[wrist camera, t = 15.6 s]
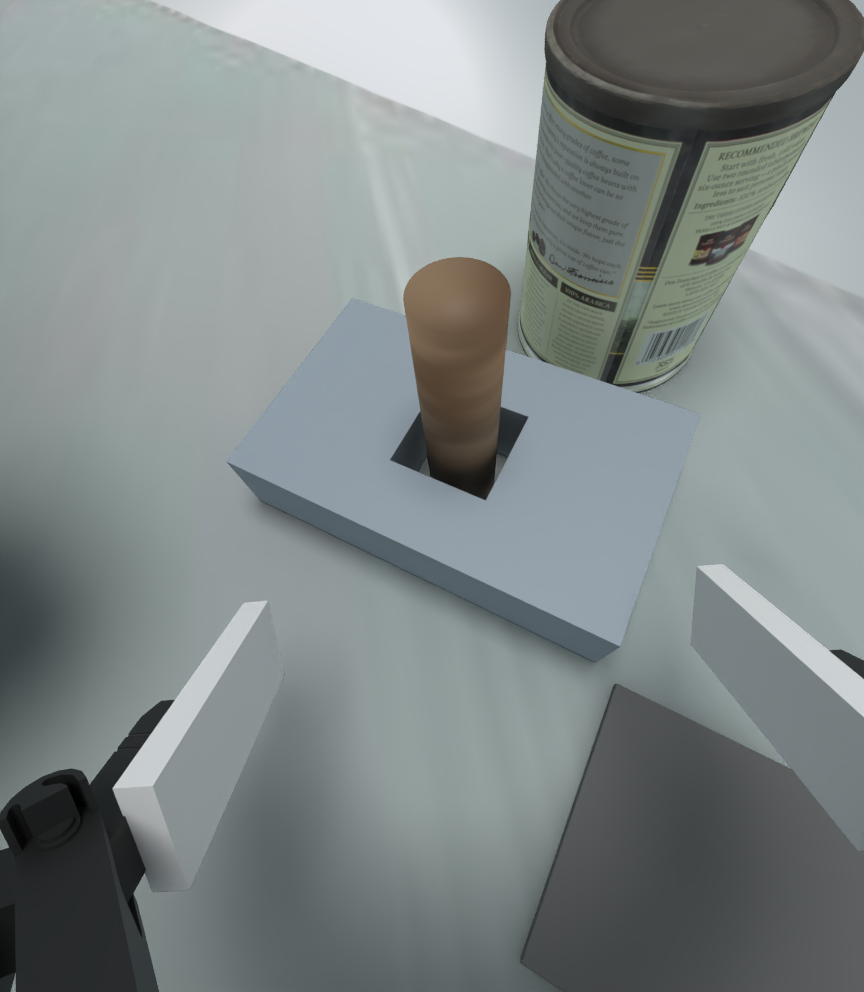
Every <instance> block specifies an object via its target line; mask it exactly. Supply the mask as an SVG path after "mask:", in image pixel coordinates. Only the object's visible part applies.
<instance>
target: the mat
mask: <svg viewBox="0 0 864 992" xmlns="http://www.w3.org/2000/svg"><path fill="white" fill-rule="evenodd" d="M521 963H522V964H524V965H525V966H526V967H528V968H529V969H531V970H532V971H534V972H535V973H537V974H538V975H540V976H541V977H543V978H544V979H546V980H547V981H549V982H550V983H552V984H553V985H555V986H556V987H558V988H559V989H561V990H562V991H564V992H864V851H858V850H857V849H856V848H855V846H854V845H853V844H852V843H851V842H850V840H849V839H848V838H847V837H846V835H845V834H844V833H843V832H842V830H841V829H840V828H839V827H838V826H837V824H836V823H835V822H834V821H833V819H832V818H831V817H830V816H829V814H828V813H827V812H826V811H825V809H824V808H823V807H822V806H821V805H820V803H819V802H818V801H817V800H816V798H815V797H814V796H813V795H812V793H811V792H810V791H809V790H808V788H807V787H806V786H805V785H804V784H803V782H802V781H801V780H800V779H799V777H798V776H797V775H796V774H795V772H794V771H793V770H792V769H790V768H788V767H786V766H784V765H782V764H780V763H778V762H775V761H773V760H771V759H769V758H767V757H765V756H763V755H761V754H759V753H757V752H755V751H753V750H751V749H749V748H747V747H745V746H743V745H741V744H739V743H737V742H735V741H733V740H731V739H729V738H727V737H724V736H722V735H720V734H718V733H716V732H714V731H712V730H710V729H708V728H706V727H704V726H702V725H700V724H698V723H696V722H694V721H692V720H690V719H688V718H686V717H684V716H682V715H680V714H678V713H676V712H673V711H671V710H669V709H667V708H665V707H663V706H661V705H659V704H657V703H655V702H653V701H651V700H649V699H647V698H645V697H643V696H641V695H639V694H637V693H635V692H633V691H631V690H629V689H627V688H624V687H622V686H620V685H618V684H615V685H614V687H613V690H612V693H611V696H610V699H609V702H608V705H607V707H606V710H605V713H604V716H603V719H602V722H601V725H600V728H599V731H598V734H597V737H596V740H595V743H594V745H593V748H592V751H591V754H590V757H589V760H588V763H587V766H586V769H585V772H584V775H583V778H582V781H581V783H580V786H579V789H578V792H577V795H576V798H575V801H574V804H573V807H572V810H571V813H570V816H569V819H568V821H567V824H566V827H565V830H564V833H563V836H562V839H561V842H560V845H559V848H558V851H557V854H556V856H555V859H554V862H553V865H552V868H551V871H550V874H549V877H548V880H547V883H546V886H545V889H544V892H543V894H542V897H541V900H540V903H539V906H538V909H537V912H536V915H535V918H534V921H533V924H532V927H531V930H530V932H529V935H528V938H527V941H526V944H525V947H524V950H523V953H522V956H521Z"/></svg>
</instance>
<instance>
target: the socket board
mask: <svg viewBox="0 0 864 992" xmlns="http://www.w3.org/2000/svg"><path fill="white" fill-rule="evenodd" d="M700 416H701V414H699V413H696V412H693V411H690V410H687V409H684V408H681V407H678V406H675V405H672V404H669V403H666V402H663V401H660V400H657V399H654V398H651V397H648V396H645V395H642V394H639V393H636V392H633V391H630V390H627V389H624V388H621V387H618V386H615V385H612V384H609V383H606V382H603V381H600V380H597V379H594V378H591V377H588V376H585V375H582V374H579V373H576V372H573V371H570V370H567V369H564V368H561V367H558V366H555V365H552V364H549V363H546V362H543V361H540V360H537V359H534V358H531V357H528V356H525V355H522V354H519V353H516V352H513V351H510V350H507V349H506V353H505V364H504V375H503V386H502V397H501V409H500V420H499V431H498V442H497V453H500V454H503V455H505V456H508V458H507V460H506V462H505V464H504V466H503V468H502V470H501V472H500V474H499V476H498V478H497V480H496V482H495V484H494V486H493V488H492V490H491V491H490V493H489V495H488V497H487V499H486V501H485V500H483V499H481V498H478V497H476V496H474V495H471V494H469V493H467V492H464V491H462V490H459V489H457V488H455V487H452V486H450V485H448V484H445V483H443V482H440V481H438V480H436V479H433V478H431V477H429V476H426V475H424V474H422V473H419V472H418V470H419V469H420V467H421V465H422V464H423V462H424V460H425V459H426V457H427V451H426V444H425V438H424V431H423V425H422V418H421V411H420V405H419V398H418V392H417V385H416V379H415V372H414V366H413V359H412V353H411V346H410V340H409V333H408V327H407V320H406V316H404V315H401V314H398V313H395V312H392V311H389V310H386V309H383V308H380V307H377V306H374V305H371V304H368V303H365V302H362V301H359V300H356V299H353V298H352V299H351V301H350V302H349V303H348V304H347V306H346V307H345V308H344V310H343V311H342V312H341V314H340V315H339V316H338V317H337V319H336V320H335V321H334V323H333V324H332V325H331V326H330V328H329V329H328V330H327V332H326V333H325V334H324V336H323V337H322V338H321V339H320V341H319V342H318V343H317V345H316V346H315V347H314V349H313V350H312V351H311V352H310V354H309V355H308V356H307V358H306V359H305V360H304V361H303V363H302V364H301V365H300V367H299V368H298V369H297V371H296V372H295V373H294V374H293V376H292V377H291V378H290V380H289V381H288V382H287V384H286V385H285V386H284V387H283V389H282V390H281V391H280V393H279V394H278V395H277V396H276V398H275V399H274V400H273V402H272V403H271V404H270V406H269V407H268V408H267V409H266V411H265V412H264V413H263V415H262V416H261V417H260V419H259V420H258V421H257V422H256V424H255V425H254V426H253V428H252V429H251V430H250V431H249V433H248V434H247V435H246V437H245V438H244V439H243V441H242V442H241V443H240V444H239V446H238V447H237V448H236V450H235V451H234V452H233V453H232V455H231V456H230V457H229V459H228V460H227V461H226V462H227V463H228V464H229V465H230V466H231V468H232V469H233V470H234V471H235V472H236V473H237V474H238V475H239V477H240V478H241V479H242V480H243V481H244V482H245V483H246V485H247V486H248V487H249V488H250V489H251V490H252V491H253V493H254V494H255V495H256V496H257V497H258V498H259V499H260V500H261V501H263V502H265V503H267V504H269V505H271V506H273V507H275V508H278V509H280V510H282V511H284V512H286V513H288V514H290V515H292V516H294V517H296V518H298V519H300V520H302V521H304V522H306V523H309V524H311V525H313V526H315V527H317V528H319V529H321V530H323V531H325V532H327V533H329V534H331V535H333V536H335V537H337V538H339V539H342V540H344V541H346V542H348V543H350V544H352V545H354V546H356V547H358V548H360V549H362V550H364V551H366V552H368V553H370V554H373V555H375V556H377V557H379V558H381V559H383V560H385V561H387V562H389V563H391V564H393V565H395V566H397V567H399V568H401V569H403V570H406V571H408V572H410V573H412V574H414V575H416V576H418V577H420V578H422V579H424V580H426V581H428V582H430V583H432V584H434V585H437V586H439V587H441V588H443V589H445V590H447V591H449V592H451V593H453V594H455V595H457V596H459V597H461V598H463V599H465V600H467V601H470V602H472V603H474V604H476V605H478V606H480V607H482V608H484V609H486V610H488V611H490V612H492V613H494V614H496V615H498V616H501V617H503V618H505V619H507V620H509V621H511V622H513V623H515V624H517V625H519V626H521V627H523V628H525V629H527V630H529V631H531V632H534V633H536V634H538V635H540V636H542V637H544V638H546V639H548V640H550V641H552V642H554V643H556V644H558V645H560V646H562V647H565V648H567V649H569V650H571V651H573V652H575V653H577V654H579V655H581V656H583V657H585V658H587V659H589V660H591V661H593V662H597V661H598V660H600V659H601V658H603V657H604V656H606V655H608V654H609V653H611V652H612V651H614V650H616V649H617V648H619V647H620V646H621V643H622V640H623V637H624V634H625V631H626V628H627V625H628V623H629V620H630V617H631V614H632V611H633V608H634V605H635V602H636V600H637V597H638V594H639V591H640V588H641V585H642V582H643V580H644V577H645V574H646V571H647V568H648V565H649V562H650V559H651V557H652V554H653V551H654V548H655V545H656V542H657V539H658V536H659V534H660V531H661V528H662V525H663V522H664V519H665V516H666V513H667V511H668V508H669V505H670V502H671V499H672V496H673V493H674V490H675V488H676V485H677V482H678V479H679V476H680V473H681V470H682V467H683V465H684V462H685V459H686V456H687V453H688V450H689V447H690V444H691V442H692V439H693V436H694V433H695V430H696V427H697V424H698V421H699V419H700Z"/></svg>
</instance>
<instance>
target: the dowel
mask: <svg viewBox="0 0 864 992" xmlns="http://www.w3.org/2000/svg"><path fill="white" fill-rule="evenodd" d="M510 296H511V292H510V286H509V283H508V281H507V279H506V278H505V276H504V275H503V274H502V273H501V272H500V271H499V270H498V269H497V268H495V267H494V266H492V265H490V264H488V263H486V262H484V261H481V260H477V259H473V258H463V257H457V258H447V259H443V260H439V261H436V262H433V263H431V264H429V265H427V266H425V267H423V268H422V269H420V270H419V271H418V272H417V273H415V274H414V275H413V276H412V278H411V279H410V280H409V282H408V283H407V285H406V288H405V291H404V298H403V299H404V307H405V314H406V320H407V327H408V333H409V340H410V346H411V353H412V359H413V366H414V372H415V379H416V385H417V392H418V398H419V405H420V411H421V418H422V425H423V431H424V438H425V444H426V451H427V457H428V464H429V470H430V477H431V478H433V479H436V480H438V481H440V482H443V483H445V484H448V485H450V486H452V487H455V488H457V489H459V490H462V491H464V492H467V493H469V494H471V495H474V496H476V497H478V498H481V499H483V500H485V501H486V499H487V497H488V495H489V493H490V491H491V490H492V488H493V486H494V476H495V465H496V453H497V442H498V431H499V420H500V409H501V397H502V386H503V375H504V364H505V353H506V341H507V330H508V319H509V308H510Z"/></svg>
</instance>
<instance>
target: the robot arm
mask: <svg viewBox="0 0 864 992" xmlns="http://www.w3.org/2000/svg"><path fill="white" fill-rule="evenodd" d="M691 645H692V647H693V648H694V649H695V650H696V652H697V653H698V654H699V655H700V656H701V658H702V659H703V660H704V661H705V663H706V664H707V665H708V666H709V668H710V669H711V670H712V671H713V672H714V674H715V675H716V676H717V677H718V679H719V680H720V681H721V682H722V684H723V685H724V686H725V687H726V689H727V690H728V691H729V692H730V693H731V695H732V696H733V697H734V698H735V700H736V701H737V702H738V703H739V705H740V706H741V707H742V708H743V710H744V711H745V712H746V713H747V714H748V716H749V717H750V718H751V719H752V721H753V722H754V723H755V724H756V726H757V727H758V728H759V729H760V730H761V732H762V733H763V734H764V735H765V737H766V738H767V739H768V740H769V742H770V743H771V744H772V745H773V747H774V748H775V749H776V750H777V751H778V753H779V754H780V755H781V756H782V758H783V759H784V760H785V761H786V763H787V764H788V765H789V766H790V768H791V769H792V770H793V771H794V772H795V774H796V775H797V776H798V777H799V779H800V780H801V781H802V782H803V784H804V785H805V786H806V787H807V788H808V790H809V791H810V792H811V793H812V795H813V796H814V797H815V798H816V800H817V801H818V802H819V803H820V805H821V806H822V807H823V808H824V809H825V811H826V812H827V813H828V814H829V816H830V817H831V818H832V819H833V821H834V822H835V823H836V824H837V826H838V827H839V828H840V829H841V830H842V832H843V833H844V834H845V835H846V837H847V838H848V839H849V840H850V842H851V843H852V844H853V845H854V846H855V848H856V849H857V850H858V851H864V661H863V660H861V659H859V658H857V657H855V656H853V655H851V654H849V653H847V652H845V651H843V650H827V649H826V648H825V647H824V646H822V645H821V644H820V643H819V642H818V641H816V640H815V639H814V638H813V637H811V636H810V635H809V634H808V633H807V632H805V631H804V630H803V629H802V628H800V627H799V626H798V625H797V624H796V623H794V622H793V621H792V620H791V619H789V618H788V617H787V616H786V615H784V614H783V613H782V612H781V611H780V610H778V609H777V608H776V607H775V606H773V605H772V604H771V603H770V602H769V601H767V600H766V599H765V598H764V597H762V596H761V595H760V594H759V593H758V592H756V591H755V590H754V589H753V588H751V587H750V586H749V585H748V584H747V583H745V582H744V581H743V580H742V579H740V578H739V577H738V576H737V575H735V574H734V573H733V572H732V571H731V570H729V569H728V568H727V567H726V566H724V565H723V564H718V565H706V566H697V571H696V584H695V596H694V609H693V621H692V634H691ZM284 675H285V674H284V669H283V665H282V661H281V656H280V652H279V647H278V643H277V638H276V634H275V629H274V625H273V621H272V616H271V612H270V607H269V603H268V601H259V602H246V603H243V605H242V606H241V607H240V609H239V610H238V612H237V613H236V615H235V616H234V617H233V619H232V620H231V622H230V623H229V624H228V626H227V627H226V629H225V630H224V632H223V633H222V634H221V636H220V637H219V639H218V640H217V641H216V643H215V644H214V646H213V647H212V648H211V650H210V651H209V653H208V654H207V656H206V657H205V658H204V660H203V661H202V663H201V664H200V665H199V667H198V668H197V670H196V671H195V673H194V674H193V675H192V677H191V678H190V680H189V681H188V682H187V684H186V685H185V687H184V688H183V689H182V691H181V692H180V694H179V695H178V697H177V698H176V699H175V700H167V701H160V702H159V703H158V704H157V705H155V706H154V707H153V708H152V709H150V710H149V711H148V712H147V713H145V714H144V715H143V716H142V717H141V718H140V719H139V721H138V722H137V723H136V725H135V726H134V727H133V729H132V730H131V731H130V733H129V736H128V737H126V738H125V739H124V740H123V742H122V743H121V744H120V746H119V747H118V751H117V752H114V753H113V755H112V756H111V757H110V759H109V760H108V761H107V763H106V764H105V765H104V767H103V768H102V769H101V771H100V772H99V773H98V774H97V776H96V777H95V778H94V780H93V781H92V782H91V784H90V785H89V783H88V780H87V778H86V776H85V775H84V773H83V772H82V771H80V770H75V769H66V770H60V771H56V772H54V773H51V774H48V775H46V776H43V777H41V778H39V779H38V780H36V781H34V782H33V783H31V784H29V785H28V786H26V787H25V788H23V789H22V790H21V791H20V792H19V793H17V794H16V795H15V796H14V797H13V798H12V799H11V800H10V801H9V802H8V803H7V805H6V806H5V807H4V808H3V810H2V811H1V813H0V829H1V831H2V833H3V835H4V837H5V839H6V841H7V843H8V845H9V847H10V848H7V849H4V850H1V851H0V992H10V991H11V988H12V984H13V980H14V976H15V973H16V992H159V990H158V986H157V981H156V977H155V973H154V969H153V965H152V961H151V957H150V953H149V949H148V945H147V941H146V936H145V932H144V928H143V924H142V920H141V916H140V912H139V908H138V904H137V901H136V899H135V896H134V894H133V893H134V891H135V889H136V887H137V885H138V884H139V882H140V880H141V878H142V876H143V874H144V872H145V874H146V877H147V879H148V882H149V884H150V887H151V890H152V892H169V891H186V890H190V888H191V886H192V884H193V881H194V879H195V877H196V875H197V872H198V870H199V868H200V865H201V863H202V861H203V859H204V856H205V854H206V852H207V850H208V847H209V845H210V843H211V841H212V838H213V836H214V834H215V831H216V829H217V827H218V825H219V822H220V820H221V818H222V816H223V813H224V811H225V809H226V807H227V804H228V802H229V800H230V797H231V795H232V793H233V791H234V788H235V786H236V784H237V782H238V779H239V777H240V775H241V772H242V770H243V768H244V766H245V763H246V761H247V759H248V757H249V754H250V752H251V750H252V748H253V745H254V743H255V741H256V738H257V736H258V734H259V732H260V729H261V727H262V725H263V723H264V720H265V718H266V716H267V714H268V711H269V709H270V707H271V704H272V702H273V700H274V698H275V695H276V693H277V691H278V689H279V686H280V684H281V682H282V680H283V677H284Z"/></svg>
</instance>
